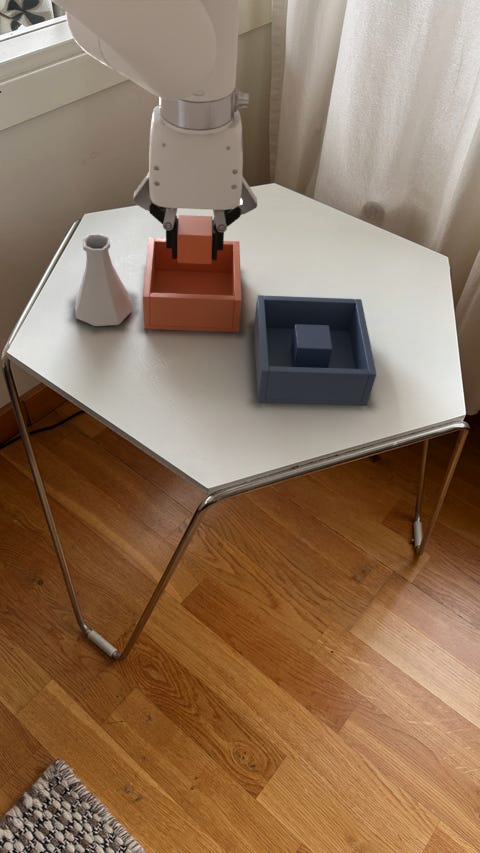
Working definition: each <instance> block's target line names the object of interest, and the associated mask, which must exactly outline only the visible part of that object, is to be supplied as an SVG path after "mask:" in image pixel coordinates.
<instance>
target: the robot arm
mask: <svg viewBox="0 0 480 853" xmlns="http://www.w3.org/2000/svg"><path fill="white" fill-rule="evenodd" d="M50 1H51V2H52V3H53V4H55V5H57V7H59V8H61V9H62V10H64V11H65V18H66V24H67V27H68V30H69V33H70V35H71V36H72V38H73V39H74V41H75V42H76V44H77V46H79V47H80V48H81V49H82V50H83V52H85V53H86V54H88V55H89V56H90V57H92V58H93V59H95V60H96V61H98V62H100V63H101V64H103V65H104V66H106V67H107V68H109V69H111V70H112V71H114V72H116V73H118V74H120V75H121V76H122V77H124V78H126V79H128V80H130V81H132V82H133V83H134V84H136V85H138V86H139V87H141V88H142V89H143V90H145V91H147V92H149V93H150V94H151V95H153V96H155V97H157V98H159V103H158V105H156V106H155V107H154V108H153V112H152V115H151V122H150V129H149V131H150V132H149V146H148V147H149V149H148V151H149V152H148V153H149V154H148V173H147V174H146V175H145V177H144V178H143V179H142V181H141V182H140V184H139V185H138V186H137V188H135V191H134V192H133V195H132V202H133V203H134V204H135V205H137V206H138V207H140V208H141V209H143V210H145V211H148V212H149V214H150V215H151V216H152V217H153V218H155V219H156V220H157V221H158V222H159V223H160V224H161V225H162V227H163V229H164V230H165V238H166V248H170V249H172V259H176V258H178V257H177V232H178V215H177V212H178V209H186V210H187V209H190V210H211V211H213V219H212V257H211V259H213V260H214V261H217V250H223V242H224V241H225V240H224V238H225V232H227V230H228V227H229V226H231V225H232V224H233V223H235V222H237V220H238V219H240V217H241V216H242V215H246V214H247V213H250V212H251V211H253V210H255V209H256V208H257V207H258V198H257V196H256V194H255V193H254V191H253V190H252V188H251V186H250V185H249V184H248V182H247V181H246V179H245V177H244V176H243V169H244V168H243V166H244V141H243V140H244V138H243V125H242V124H243V123H242V118H241V114H240V111H239V110H241V109H242V108H244V109H245V108H246V109H247V108H249V107H250V106H249V104H250V93H249V92H248V93H247V92H242V91H239V88H238V87H236V81H237V80H236V79H237V62H238V43H239V28H240V27H239V26H240V11H241V10H240V8H241V0H50Z"/></svg>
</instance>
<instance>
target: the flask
mask: <svg viewBox="0 0 480 853" xmlns="http://www.w3.org/2000/svg"><path fill="white" fill-rule="evenodd" d="M82 248H83V251H85V253H86V261H85V267H84V268H85V269H84V272H83V276H82V279H81V283H80V286H79V289H78V292H77V296H76V298H75V301H74V307H75V308H74V310H75V311H74V314H75V317H74V318H75V319H77V320H80V321H82V322H84V323H86V324H89V325H91V326H94V327H104V326H119V325H120V324H121V323H122V322H123V321H124V320H125V319H126V318H127V317H128V316H129V315H130V314H131V313H132V301H131V295H130V293H129V291H128V290H127V288H126V287H125V285H124V283H123V282H122V279H121V278H120V276H119V273H118V272H117V271H116V268H115V267H114V265H113V262H112V260H111V256H110V252H109V249H110V248H111V239H110V236H108V235H105V234H102V233H91V234H87V235H86V237H84V238H83V239H82Z"/></svg>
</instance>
